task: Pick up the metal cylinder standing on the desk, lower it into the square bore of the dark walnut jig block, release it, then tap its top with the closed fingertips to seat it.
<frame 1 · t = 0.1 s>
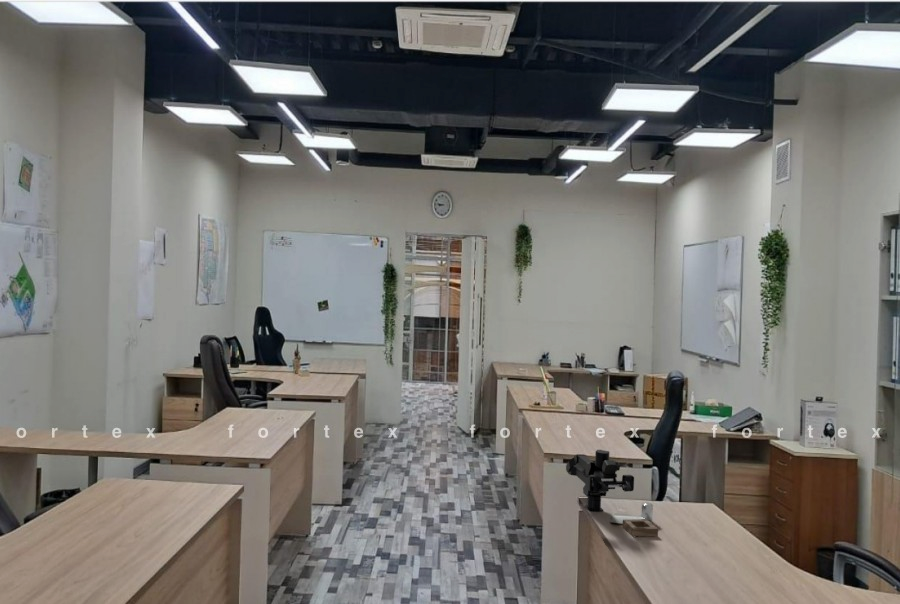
hand: (619, 489, 246), 16 cm above the table, tool horizontal, fingers open, 9 cm apart
metal cylinder: (646, 521, 259), on the table
jig: (639, 531, 247), on the table
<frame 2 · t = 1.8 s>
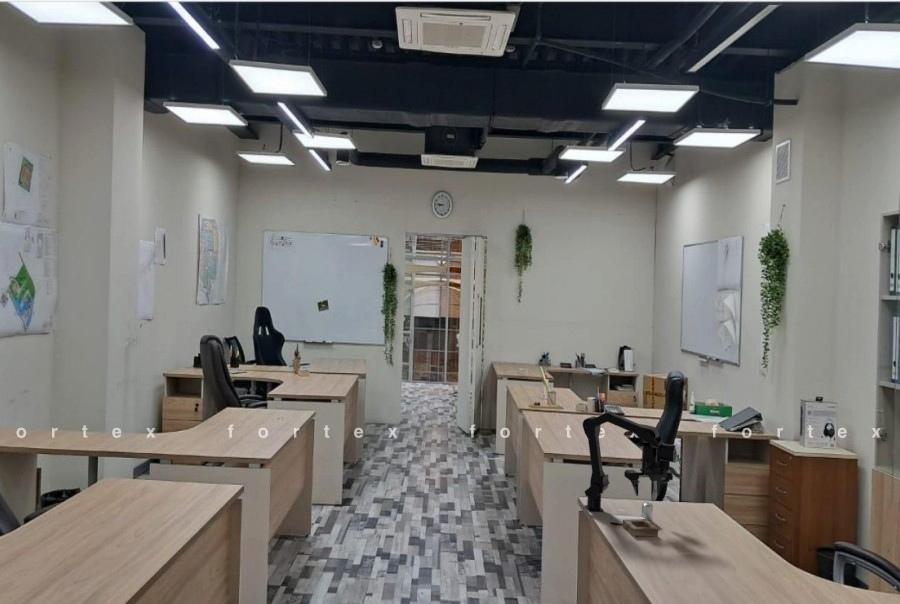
hand: (647, 495, 259), 10 cm above the table, tool pointing down, fingers open, 9 cm apart
nothing on the table moved.
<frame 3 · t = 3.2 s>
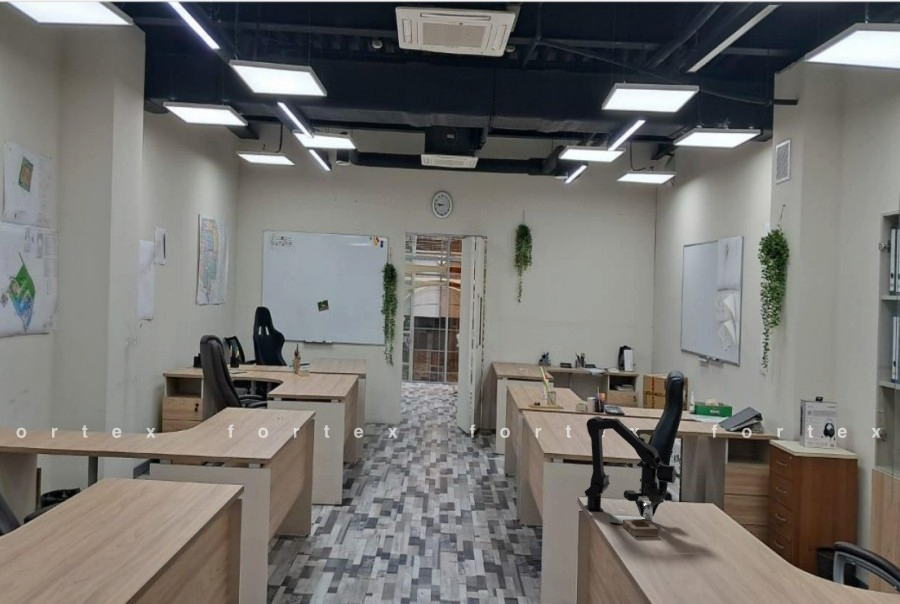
hand: (646, 516, 259), 2 cm above the table, tool pointing down, fingers closed on metal cylinder, 4 cm apart
metal cylinder: (646, 521, 259), on the table, touching gripper
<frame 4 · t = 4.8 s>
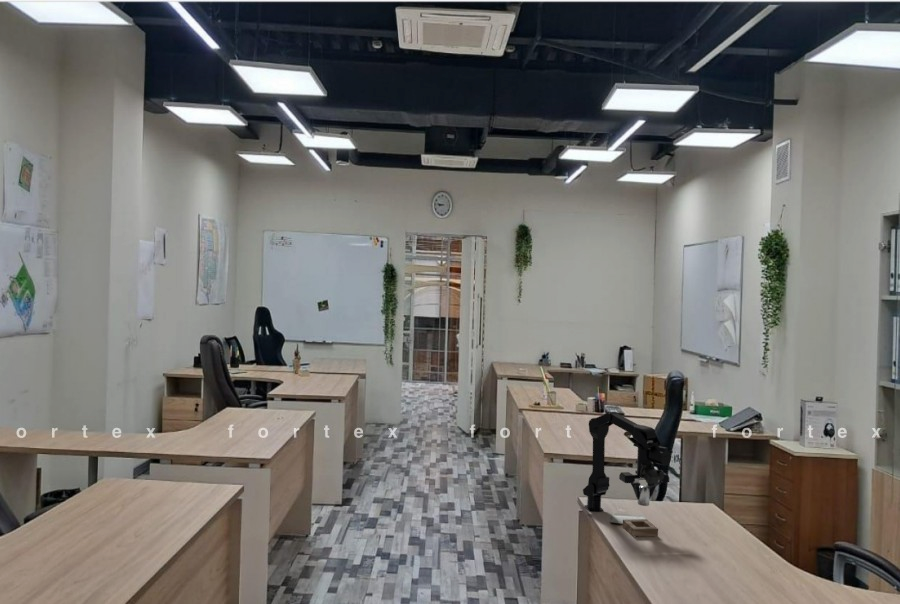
hand: (643, 498, 249), 12 cm above the table, tool pointing down, fingers closed on metal cylinder, 4 cm apart
metal cylinder: (643, 504, 249), point 10 cm above the table, touching gripper
when the fingers open (3 cm above the table, at t = 6.4 s): metal cylinder drops 1 cm, resting in jig.
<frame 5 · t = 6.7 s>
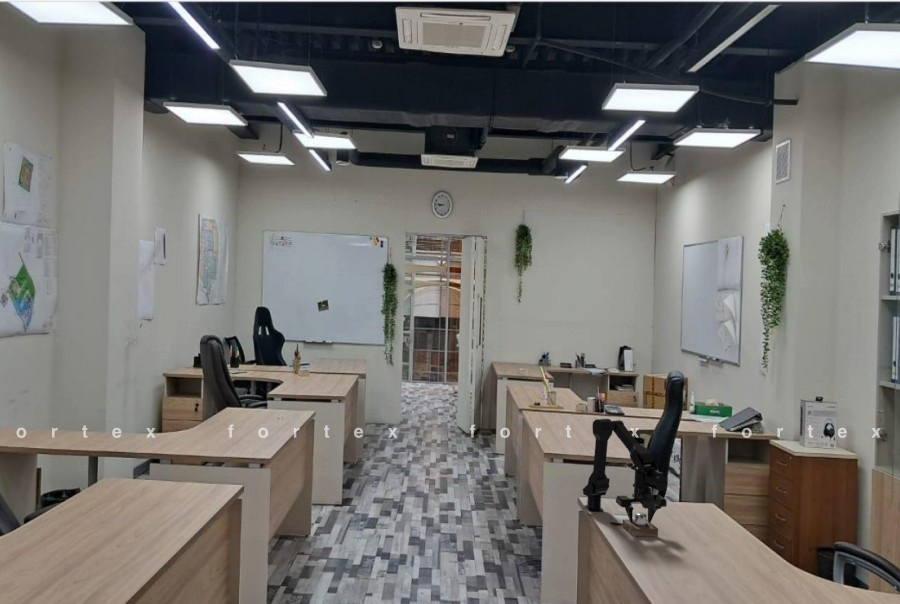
hand: (640, 522, 247), 3 cm above the table, tool pointing down, fingers open, 7 cm apart
metal cylinder: (639, 531, 247), resting in jig
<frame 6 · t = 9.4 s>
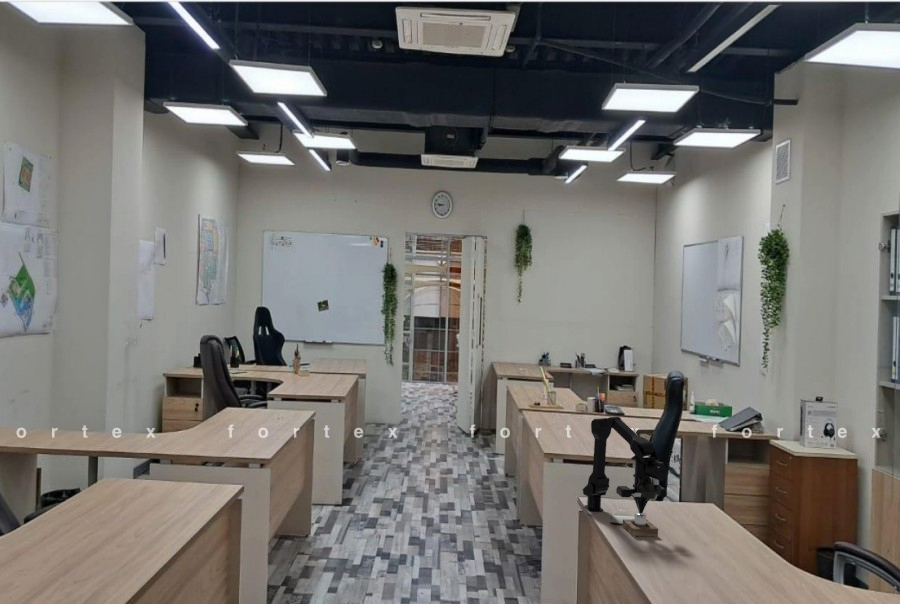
hand: (640, 513, 247), 7 cm above the table, tool pointing down, fingers closed
nothing on the table moved.
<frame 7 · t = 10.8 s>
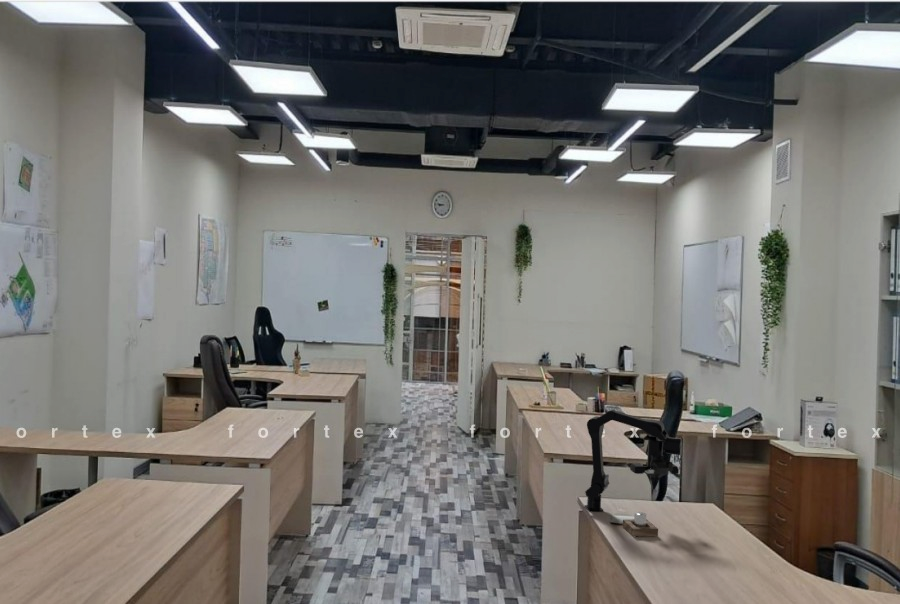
hand: (653, 489, 260), 13 cm above the table, tool pointing down, fingers closed
nothing on the table moved.
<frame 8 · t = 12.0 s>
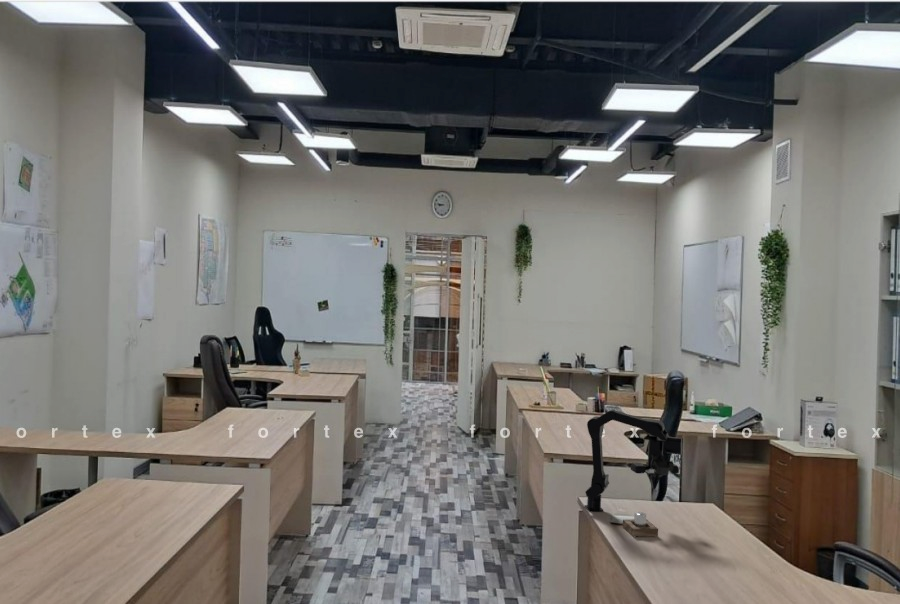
hand: (653, 488, 260), 13 cm above the table, tool pointing down, fingers closed
nothing on the table moved.
at the end: metal cylinder 0.1 cm off-centre on the jig, point 0.0 cm above the jig's base; metal cylinder tilted 1°; the gripper is holding nothing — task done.
